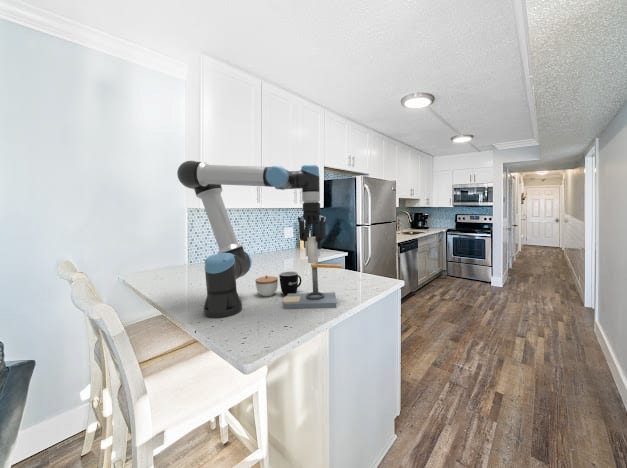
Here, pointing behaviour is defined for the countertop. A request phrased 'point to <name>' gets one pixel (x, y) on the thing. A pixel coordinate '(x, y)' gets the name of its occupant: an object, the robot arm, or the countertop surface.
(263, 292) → the lidded jar
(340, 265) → the clip
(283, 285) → the mug
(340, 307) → the countertop surface
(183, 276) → the countertop surface
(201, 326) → the countertop surface
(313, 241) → the white cylinder
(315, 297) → the grey base with post
